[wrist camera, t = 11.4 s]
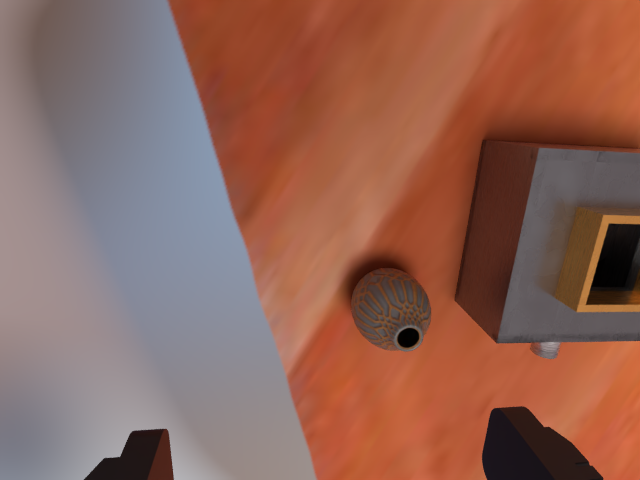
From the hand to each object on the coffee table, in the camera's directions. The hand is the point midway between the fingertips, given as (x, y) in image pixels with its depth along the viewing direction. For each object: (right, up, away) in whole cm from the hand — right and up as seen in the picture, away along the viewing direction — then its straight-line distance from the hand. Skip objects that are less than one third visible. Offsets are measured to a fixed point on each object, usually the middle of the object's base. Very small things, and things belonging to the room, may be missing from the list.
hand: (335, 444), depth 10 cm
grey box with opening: (+22, +5, +30) cm, 38 cm away
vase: (+6, 0, +30) cm, 31 cm away
